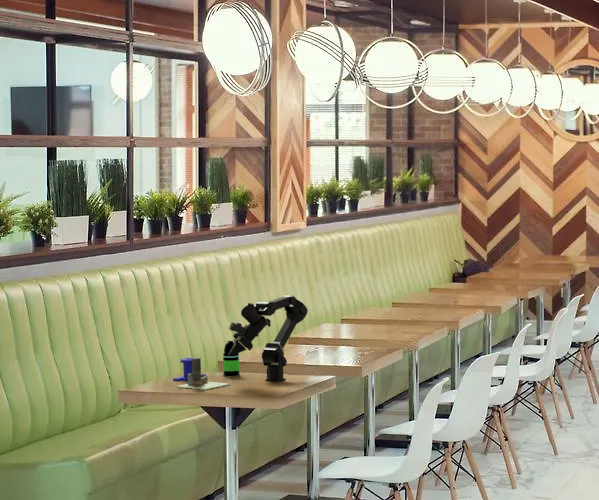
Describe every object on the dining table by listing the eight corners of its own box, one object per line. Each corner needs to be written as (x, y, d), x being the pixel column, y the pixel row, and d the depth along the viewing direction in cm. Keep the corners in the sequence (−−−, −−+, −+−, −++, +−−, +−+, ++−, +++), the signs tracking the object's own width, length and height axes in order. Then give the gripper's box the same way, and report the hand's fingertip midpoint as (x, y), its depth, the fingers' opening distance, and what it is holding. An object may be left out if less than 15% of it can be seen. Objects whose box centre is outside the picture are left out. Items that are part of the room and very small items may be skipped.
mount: (191, 376, 535) (190, 356, 535) (206, 377, 532) (205, 357, 531) (173, 381, 522) (172, 361, 521) (188, 382, 518) (187, 361, 518)
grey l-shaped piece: (198, 380, 514) (197, 354, 513) (208, 380, 513) (208, 354, 513) (190, 386, 500) (189, 359, 500) (201, 385, 499) (200, 359, 499)
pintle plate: (229, 385, 506) (229, 383, 506) (205, 390, 494) (205, 389, 494) (201, 382, 516) (201, 380, 516) (176, 387, 503) (176, 386, 503)
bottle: (237, 376, 529) (236, 342, 528) (221, 376, 530) (220, 342, 530) (241, 374, 536) (240, 340, 535) (225, 374, 538) (224, 340, 537)
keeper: (189, 385, 508) (189, 373, 508) (204, 385, 507) (203, 373, 506) (187, 386, 505) (187, 374, 505) (202, 386, 504) (201, 374, 503)
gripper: (236, 313, 513) (211, 340, 511) (243, 317, 495) (217, 346, 493) (256, 330, 515) (230, 358, 513) (263, 335, 497) (237, 364, 495)
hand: (228, 356), depth 504 cm, fingers closed
